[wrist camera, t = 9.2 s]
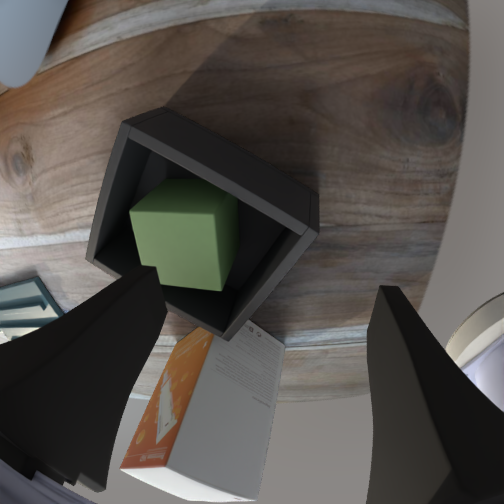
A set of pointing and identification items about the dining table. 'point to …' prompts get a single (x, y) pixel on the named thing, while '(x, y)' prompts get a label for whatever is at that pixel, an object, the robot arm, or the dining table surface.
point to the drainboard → (26, 308)
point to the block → (188, 232)
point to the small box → (210, 417)
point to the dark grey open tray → (225, 177)
